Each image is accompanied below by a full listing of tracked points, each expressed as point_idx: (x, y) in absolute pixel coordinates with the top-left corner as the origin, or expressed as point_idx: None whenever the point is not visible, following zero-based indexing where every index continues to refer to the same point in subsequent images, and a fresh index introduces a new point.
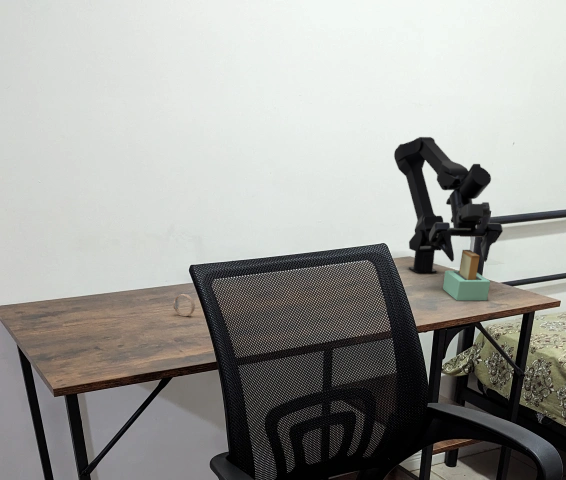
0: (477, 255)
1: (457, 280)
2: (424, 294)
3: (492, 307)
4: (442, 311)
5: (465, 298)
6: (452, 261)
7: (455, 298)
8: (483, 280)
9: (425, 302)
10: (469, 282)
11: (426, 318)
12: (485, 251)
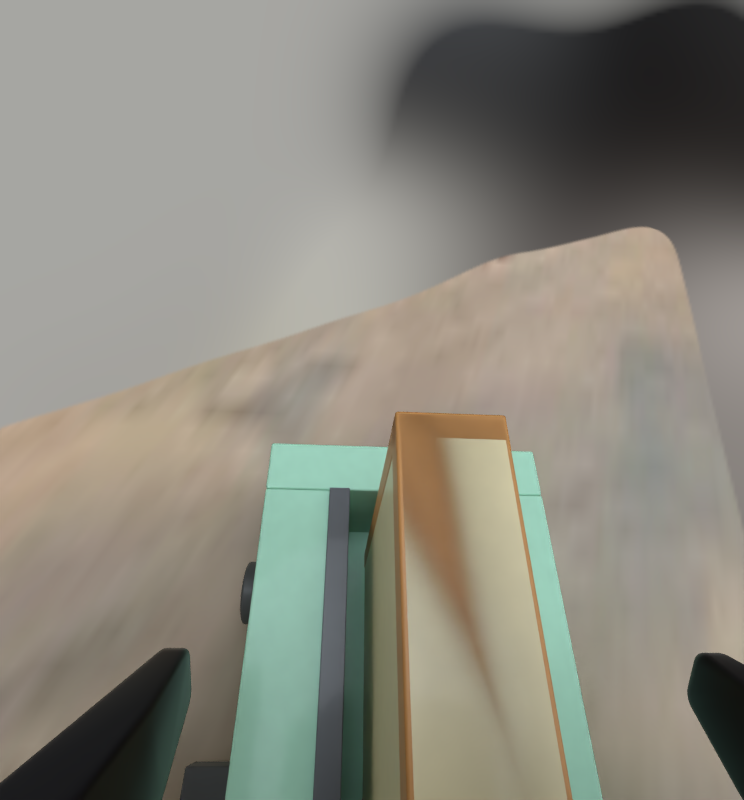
0: (420, 436)
1: (541, 503)
2: None
3: (321, 368)
4: (593, 328)
5: None
6: (691, 690)
7: None
8: (319, 472)
9: (682, 472)
10: None
11: (662, 259)
12: (109, 773)
